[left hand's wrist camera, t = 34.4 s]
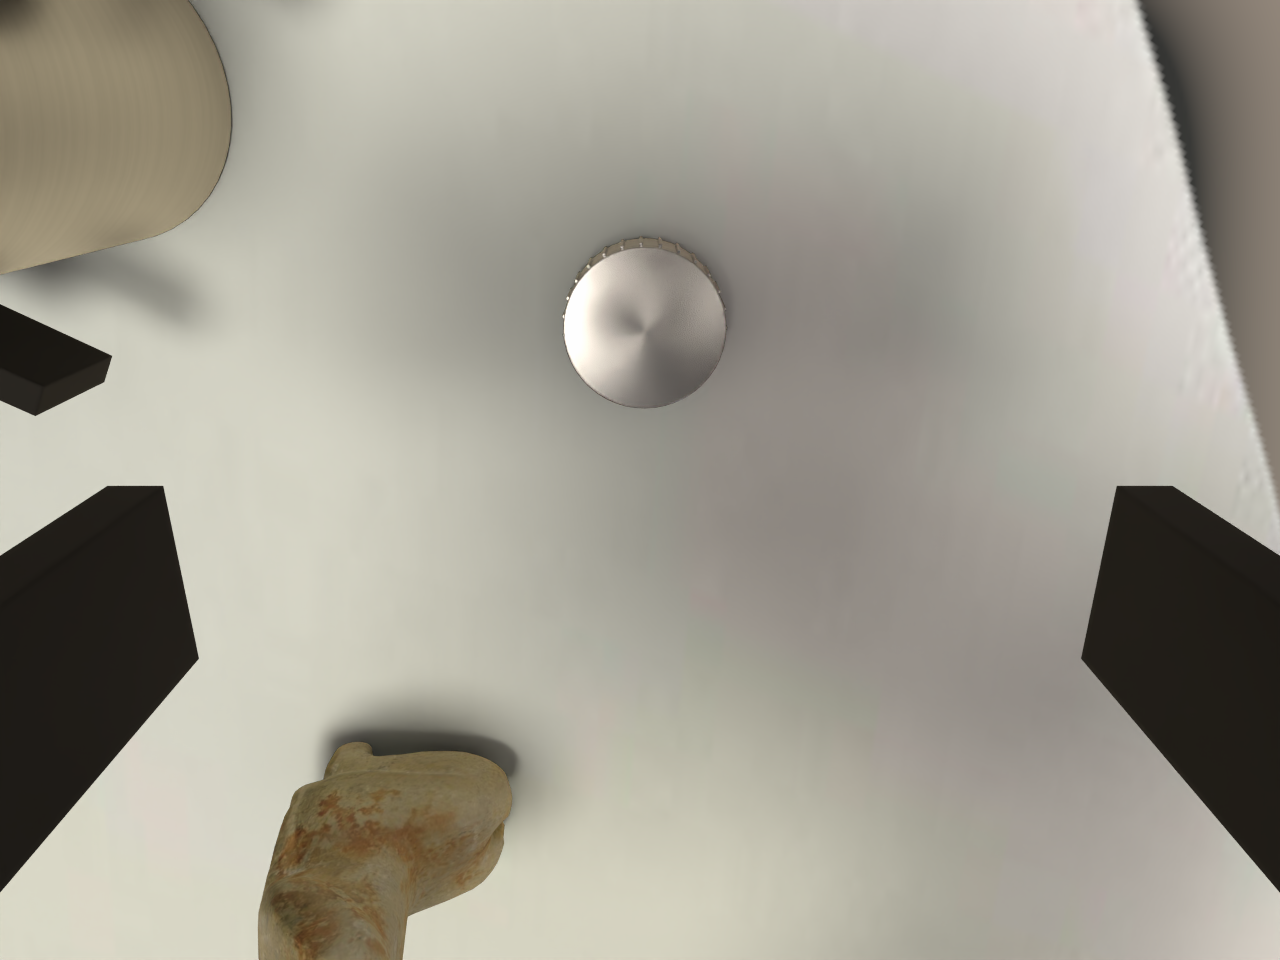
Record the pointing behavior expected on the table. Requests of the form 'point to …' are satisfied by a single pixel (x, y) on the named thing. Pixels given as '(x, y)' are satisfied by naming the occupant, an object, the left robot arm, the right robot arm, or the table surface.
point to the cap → (644, 323)
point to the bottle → (104, 124)
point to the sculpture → (379, 851)
